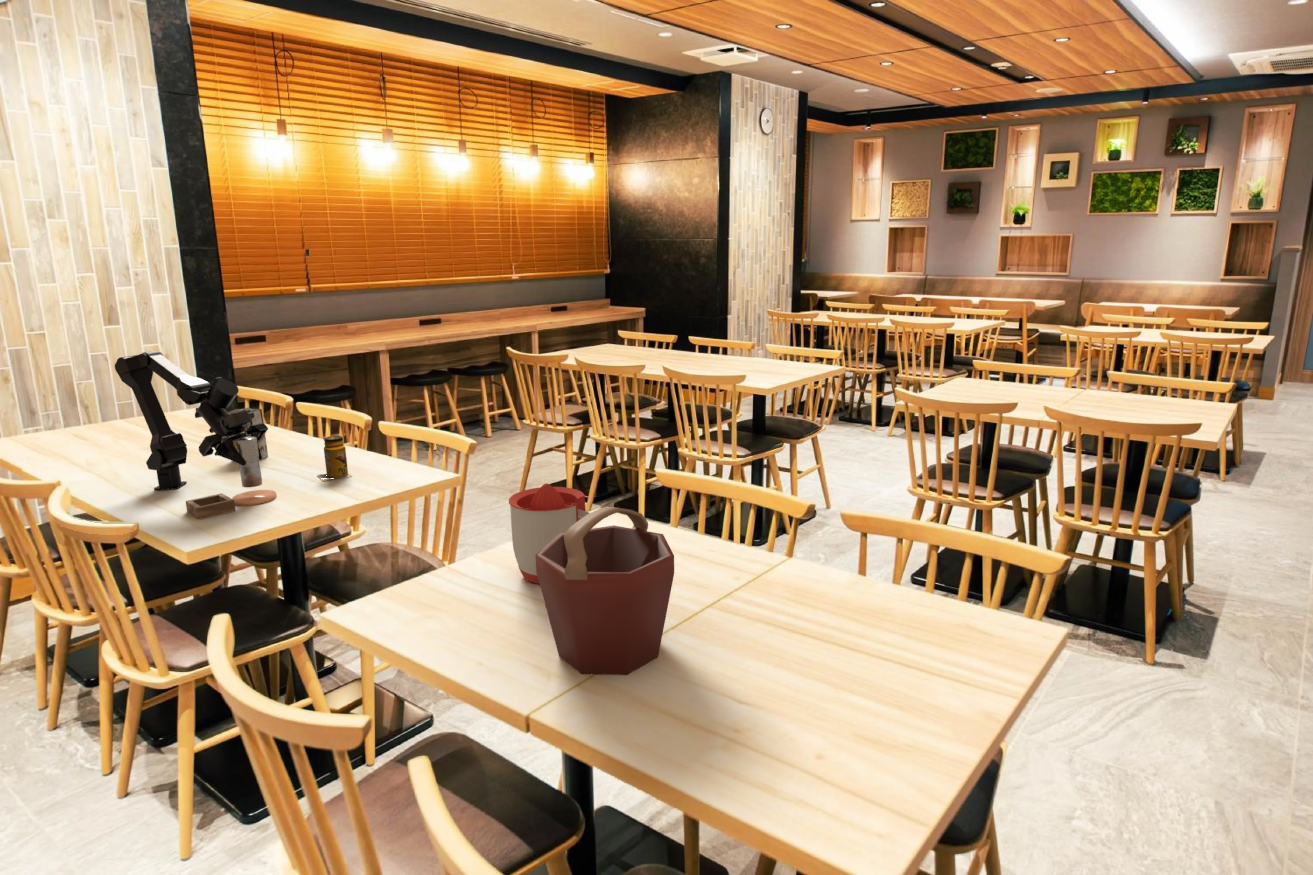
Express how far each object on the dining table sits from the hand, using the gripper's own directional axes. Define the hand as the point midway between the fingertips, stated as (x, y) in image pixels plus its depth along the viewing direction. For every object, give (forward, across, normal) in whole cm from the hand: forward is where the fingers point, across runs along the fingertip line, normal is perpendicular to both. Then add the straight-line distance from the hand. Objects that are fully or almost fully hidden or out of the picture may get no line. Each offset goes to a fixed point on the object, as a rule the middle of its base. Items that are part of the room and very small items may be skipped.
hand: (252, 462), depth 225 cm
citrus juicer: (+80, -15, -66) cm, 104 cm away
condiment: (+10, +25, +6) cm, 28 cm away
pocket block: (+5, -12, +10) cm, 16 cm away
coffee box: (-19, +32, +36) cm, 51 cm away
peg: (+4, 0, +6) cm, 7 cm away
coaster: (+7, 0, +8) cm, 11 cm away
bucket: (+97, -41, -83) cm, 134 cm away
